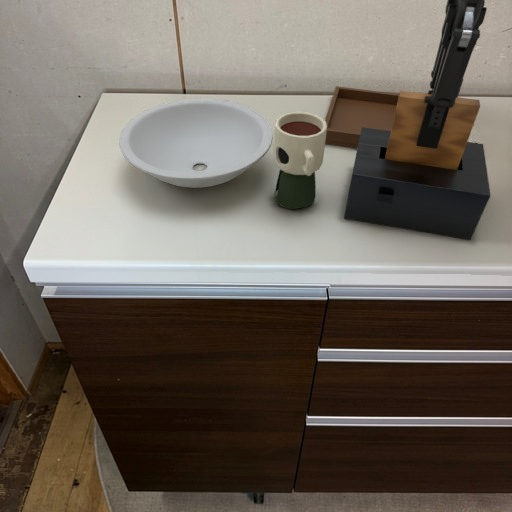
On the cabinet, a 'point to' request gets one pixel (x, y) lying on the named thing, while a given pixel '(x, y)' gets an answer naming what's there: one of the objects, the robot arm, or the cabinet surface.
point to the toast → (410, 124)
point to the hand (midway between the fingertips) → (426, 140)
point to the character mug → (298, 157)
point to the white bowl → (196, 141)
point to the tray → (358, 114)
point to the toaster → (417, 190)
